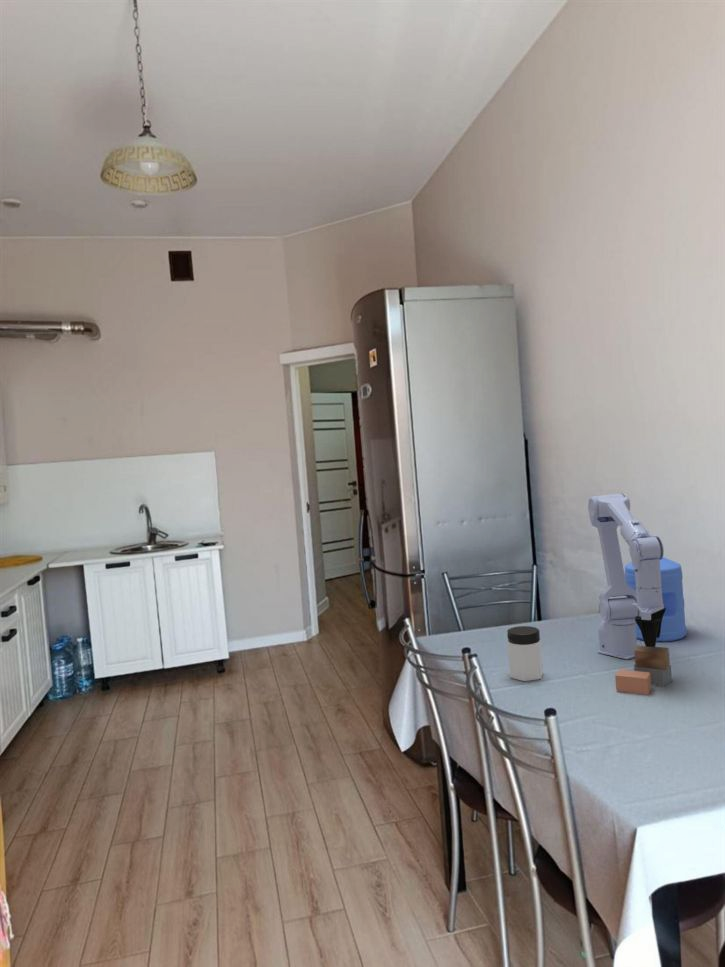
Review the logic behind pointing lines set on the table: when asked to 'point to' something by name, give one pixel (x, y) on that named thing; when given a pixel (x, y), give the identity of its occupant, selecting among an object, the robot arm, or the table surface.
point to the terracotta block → (633, 681)
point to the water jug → (666, 599)
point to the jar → (525, 653)
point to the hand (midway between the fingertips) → (652, 641)
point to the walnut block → (652, 657)
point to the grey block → (657, 675)
